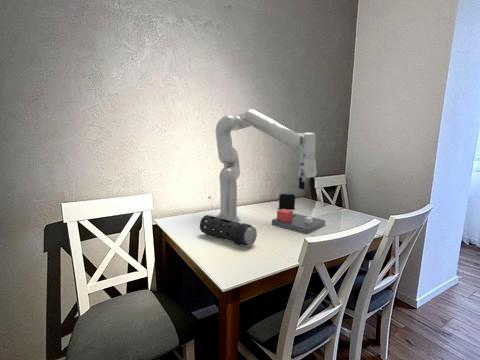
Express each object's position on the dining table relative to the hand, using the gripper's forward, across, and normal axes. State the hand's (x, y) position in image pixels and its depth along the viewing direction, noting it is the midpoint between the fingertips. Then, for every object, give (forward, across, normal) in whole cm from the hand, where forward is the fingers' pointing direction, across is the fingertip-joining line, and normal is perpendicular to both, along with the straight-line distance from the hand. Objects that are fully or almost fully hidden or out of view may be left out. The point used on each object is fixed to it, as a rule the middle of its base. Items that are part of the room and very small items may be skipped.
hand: (307, 187), depth 158 cm
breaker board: (+22, -2, +4) cm, 22 cm away
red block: (+18, -7, +9) cm, 22 cm away
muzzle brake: (+21, -47, +12) cm, 53 cm away
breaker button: (+20, -1, -2) cm, 20 cm away
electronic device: (+22, +21, +30) cm, 42 cm away
